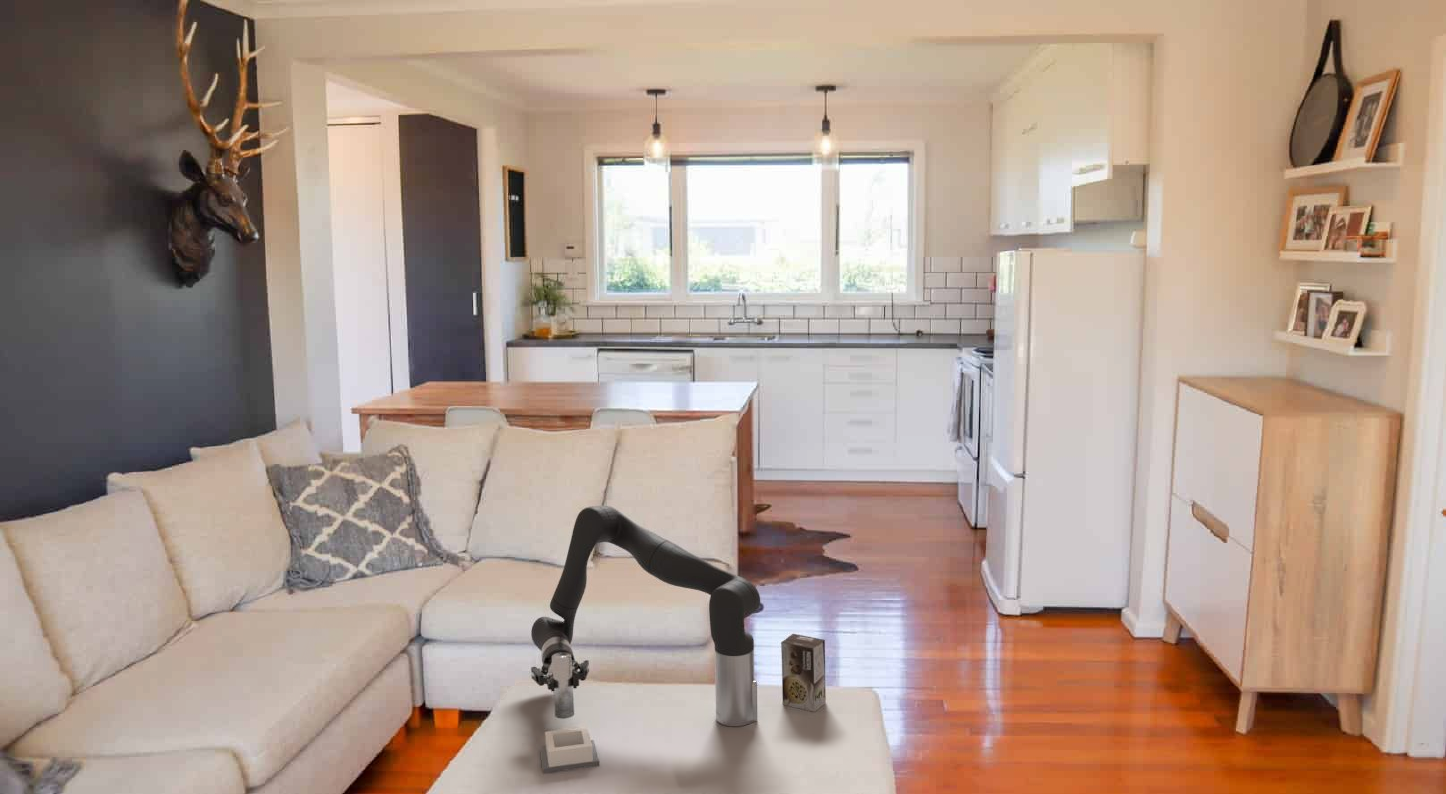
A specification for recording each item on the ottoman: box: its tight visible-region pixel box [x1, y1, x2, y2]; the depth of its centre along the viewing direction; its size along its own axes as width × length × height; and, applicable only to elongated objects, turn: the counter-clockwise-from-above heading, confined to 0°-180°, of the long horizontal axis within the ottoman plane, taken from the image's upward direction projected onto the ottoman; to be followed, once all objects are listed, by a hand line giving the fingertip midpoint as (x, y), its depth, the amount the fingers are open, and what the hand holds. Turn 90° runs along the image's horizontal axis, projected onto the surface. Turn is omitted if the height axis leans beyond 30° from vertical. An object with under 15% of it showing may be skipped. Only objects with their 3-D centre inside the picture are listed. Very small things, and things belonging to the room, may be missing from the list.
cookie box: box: [780, 633, 827, 713], centre depth 249 cm, size 9×6×16 cm
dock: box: [539, 726, 600, 774], centre depth 225 cm, size 12×10×4 cm
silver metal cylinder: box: [552, 652, 575, 720], centre depth 233 cm, size 4×4×14 cm
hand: (564, 685), depth 231 cm, fingers closed on silver metal cylinder, 4 cm apart
